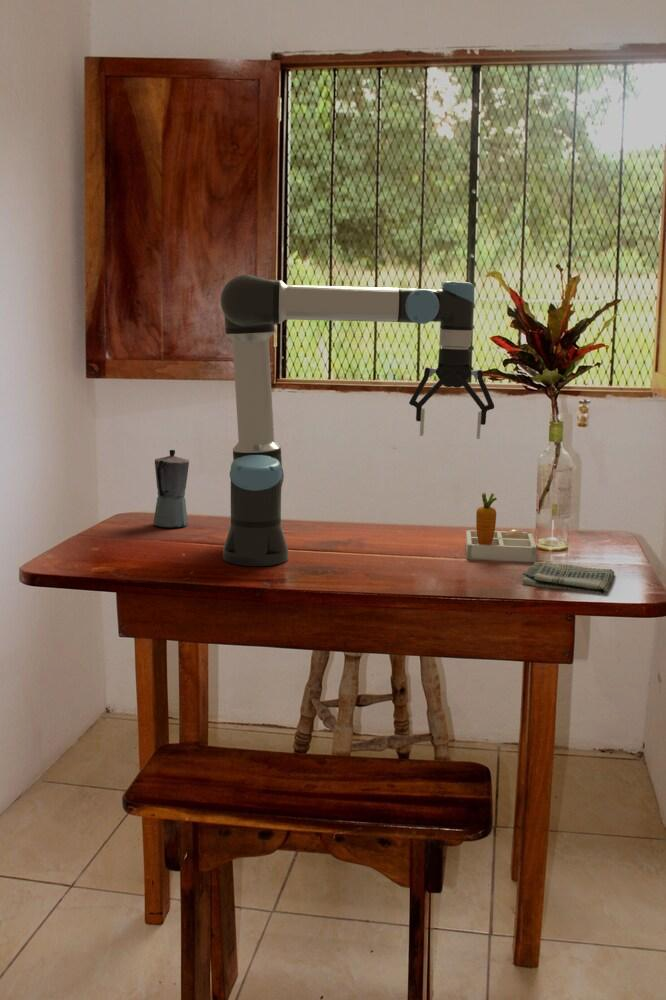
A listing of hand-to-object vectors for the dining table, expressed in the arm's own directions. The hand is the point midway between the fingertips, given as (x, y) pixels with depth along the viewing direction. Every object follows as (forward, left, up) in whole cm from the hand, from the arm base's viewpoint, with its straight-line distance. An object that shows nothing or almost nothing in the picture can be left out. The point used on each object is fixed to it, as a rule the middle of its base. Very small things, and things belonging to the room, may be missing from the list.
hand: (449, 436), depth 254 cm
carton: (-3, -13, -27) cm, 31 cm away
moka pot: (+11, +72, -28) cm, 78 cm away
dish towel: (-25, -27, -28) cm, 47 cm away
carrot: (-7, -9, -27) cm, 29 cm away
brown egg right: (+1, -17, -27) cm, 32 cm away
